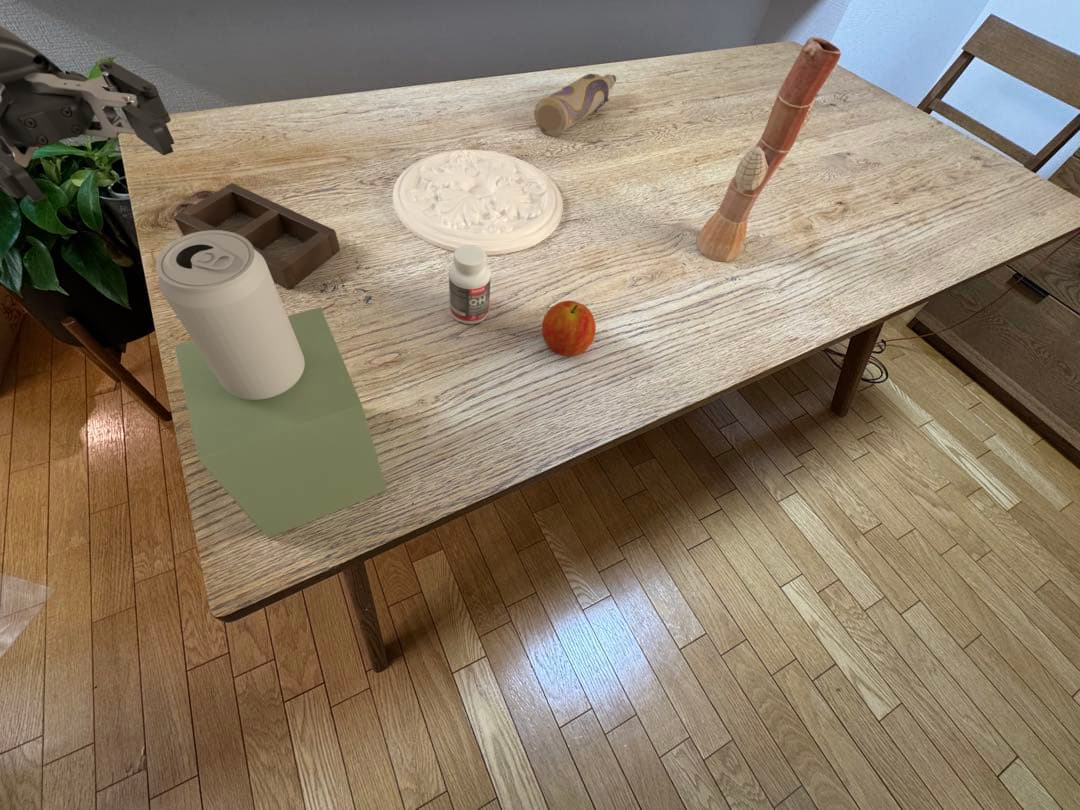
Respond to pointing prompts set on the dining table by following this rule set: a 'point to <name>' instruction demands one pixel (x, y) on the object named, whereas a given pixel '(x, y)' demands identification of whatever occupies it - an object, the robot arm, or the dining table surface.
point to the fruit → (568, 328)
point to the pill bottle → (469, 285)
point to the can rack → (265, 231)
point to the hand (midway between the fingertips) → (101, 162)
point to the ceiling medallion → (477, 201)
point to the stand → (285, 435)
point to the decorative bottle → (572, 103)
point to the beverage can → (231, 312)
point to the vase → (768, 149)
